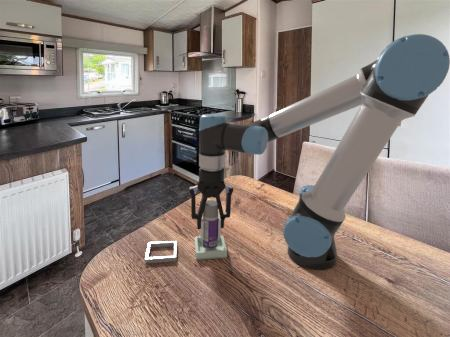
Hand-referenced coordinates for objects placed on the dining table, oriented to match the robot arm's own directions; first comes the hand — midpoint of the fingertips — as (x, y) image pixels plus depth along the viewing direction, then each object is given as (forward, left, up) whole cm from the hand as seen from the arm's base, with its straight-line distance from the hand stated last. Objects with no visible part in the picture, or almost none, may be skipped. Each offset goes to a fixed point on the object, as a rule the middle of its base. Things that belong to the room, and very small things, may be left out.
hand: (210, 236), depth 90 cm
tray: (0, 0, -5) cm, 5 cm away
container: (0, 0, -4) cm, 4 cm away
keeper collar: (+14, +6, -5) cm, 16 cm away
